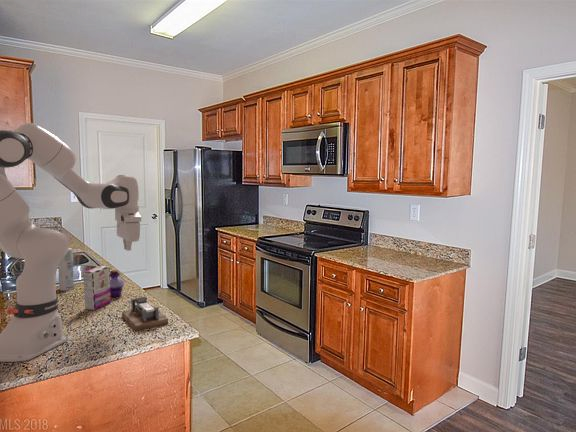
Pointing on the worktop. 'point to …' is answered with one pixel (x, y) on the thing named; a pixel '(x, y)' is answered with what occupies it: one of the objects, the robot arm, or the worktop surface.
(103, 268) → the candy bar box
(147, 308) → the clamp bar
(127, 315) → the walnut base plate
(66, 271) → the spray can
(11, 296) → the worktop surface
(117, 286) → the potion bottle
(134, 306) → the block
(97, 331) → the worktop surface
